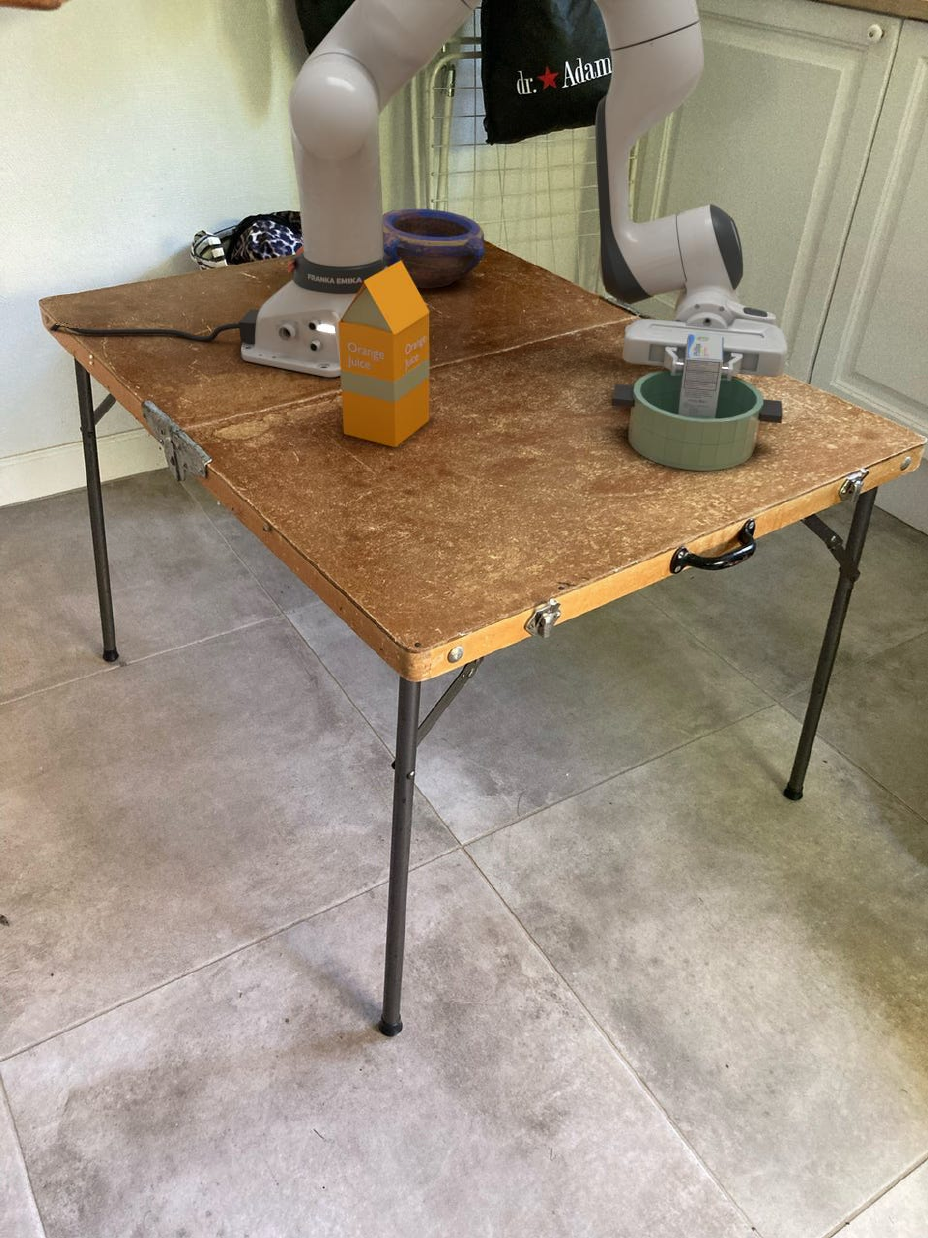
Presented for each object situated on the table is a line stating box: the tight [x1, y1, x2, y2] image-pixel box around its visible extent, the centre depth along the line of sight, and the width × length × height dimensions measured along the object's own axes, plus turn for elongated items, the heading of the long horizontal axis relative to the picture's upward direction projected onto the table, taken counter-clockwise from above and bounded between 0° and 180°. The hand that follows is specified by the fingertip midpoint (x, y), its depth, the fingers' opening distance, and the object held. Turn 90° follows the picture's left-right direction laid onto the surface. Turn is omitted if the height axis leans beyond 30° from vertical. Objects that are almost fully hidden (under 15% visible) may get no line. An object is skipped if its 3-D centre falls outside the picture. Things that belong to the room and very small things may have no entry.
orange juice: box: [338, 261, 431, 448], centre depth 130 cm, size 8×9×20 cm
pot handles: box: [611, 383, 784, 424], centre depth 131 cm, size 20×4×1 cm, turn 78°
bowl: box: [383, 208, 486, 289], centre depth 179 cm, size 18×18×10 cm
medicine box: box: [678, 334, 724, 419], centre depth 130 cm, size 8×4×9 cm, turn 169°
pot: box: [627, 368, 764, 472], centre depth 132 cm, size 16×16×6 cm
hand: (701, 372), depth 130 cm, fingers closed on medicine box, 4 cm apart
